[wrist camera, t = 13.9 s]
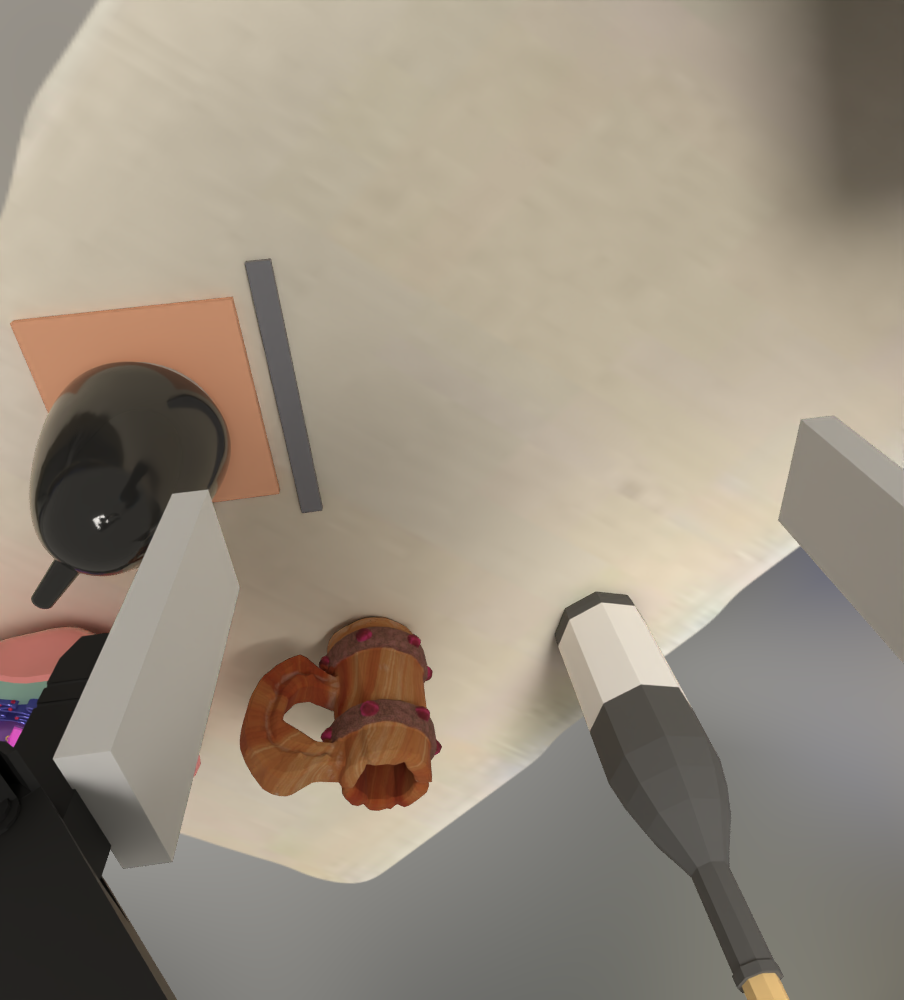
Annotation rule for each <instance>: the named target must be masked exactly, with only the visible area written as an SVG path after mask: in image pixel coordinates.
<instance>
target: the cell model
mask: <svg viewBox="0 0 904 1000" xmlns="http://www.w3.org/2000/svg"><path fill="white" fill-rule="evenodd" d="M87 635H95V633H93V632H90V631H88V630H86V629H83V628H78V627H59V628H52V629H48V630H43V631H39V632H34V633H30V634H25V635H21V636H17V637H12V638H8V639H5V640H2V641H0V741H6V742H7V743H9V744H10V745H11V746H12V747H14V745H15V744H16V742H17V740H18V738H19V736H20V734H21V732H22V730H23V728H24V726H25V724H26V722H27V720H28V718H29V716H30V714H31V713H32V711H33V709H34V708H36V707H37V701H38V699H39V697H40V695H41V693H42V691H43V689H44V688H47V681H48V680H49V678H50V676H51V674H52V672H53V670H54V668H55V666H56V664H57V662H58V660H59V658H60V657H61V656H62V655H63V654H64V653H65V652H66V651H67V650H68V649H69V648H70V647H71V646H72V645H73V644H74V643H75V642H76V641H77V640H78V639H79V638H80V637H81V636H87ZM200 764H201V762H200V755H199V756H198V760H197V764H196V768H195V773H194V776H195V775H196V773H197V771H198V769H199V766H200Z"/></svg>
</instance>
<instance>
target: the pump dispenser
mask: <svg viewBox="0 0 904 1000" xmlns="http://www.w3.org/2000/svg"><path fill="white" fill-rule="evenodd" d="M230 456H231V441H230V435H229V431H228V428H227V425H226V422H225V420H224V418H223V416H222V414H221V412H220V411H219V409H218V408H217V406H216V405H215V403H214V402H213V401H212V399H211V398H210V397H209V395H208V394H207V393H206V392H205V391H204V390H203V389H202V388H201V387H200V386H199V385H198V384H197V383H196V382H194V381H193V380H192V379H190V378H189V377H187V376H185V375H184V374H182V373H180V372H178V371H176V370H174V369H171V368H168V367H165V366H162V365H158V364H154V363H147V362H115V363H109V364H104V365H101V366H97V367H95V368H92V369H90V370H88V371H86V372H84V373H82V374H81V375H79V376H78V377H76V378H75V379H74V380H73V381H72V382H70V383H69V384H68V385H67V386H66V388H65V389H64V390H63V391H62V392H61V394H60V395H59V396H58V398H57V399H56V401H55V402H54V404H53V406H52V408H51V410H50V412H49V414H48V416H47V418H46V420H45V423H44V425H43V428H42V430H41V433H40V436H39V439H38V442H37V446H36V450H35V454H34V459H33V464H32V471H31V479H30V491H29V500H30V511H31V517H32V522H33V526H34V529H35V532H36V534H37V536H38V538H39V540H40V542H41V544H42V545H43V547H44V548H45V549H46V550H47V552H48V553H49V554H50V555H51V556H52V557H53V558H54V561H53V562H52V564H51V566H50V567H49V569H48V571H47V572H46V574H45V575H44V577H43V579H42V580H41V582H40V584H39V585H38V587H37V589H36V590H35V592H34V594H33V595H32V597H31V600H32V603H33V604H34V605H35V606H37V607H39V608H41V609H49V608H51V607H52V606H53V605H54V604H55V603H56V601H57V600H58V599H59V598H60V597H61V596H62V594H63V593H64V592H65V591H66V590H67V588H68V587H69V586H70V585H71V584H72V582H73V581H74V580H75V579H76V578H77V576H78V575H79V574H80V573H82V574H86V575H92V576H111V575H117V574H121V573H124V572H127V571H130V570H133V569H135V568H138V567H139V566H140V564H141V562H142V560H143V558H144V555H145V553H146V551H147V549H148V547H149V544H150V542H151V540H152V538H153V535H154V533H155V531H156V529H157V527H158V524H159V522H160V520H161V518H162V516H163V513H164V511H165V509H166V507H167V504H168V502H169V500H170V498H171V496H172V494H175V493H183V492H192V491H200V490H208V491H209V494H210V497H211V500H212V499H213V498H214V496H215V495H216V493H217V491H218V490H219V488H220V486H221V484H222V482H223V480H224V478H225V475H226V473H227V470H228V466H229V462H230Z"/></svg>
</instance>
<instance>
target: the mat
mask: <svg viewBox="0 0 904 1000" xmlns="http://www.w3.org/2000/svg"><path fill="white" fill-rule="evenodd" d="M10 325H11V327H12V329H13V332H14V334H15V336H16V339H17V341H18V343H19V346H20V348H21V350H22V353H23V355H24V357H25V360H26V362H27V364H28V367H29V369H30V371H31V374H32V376H33V378H34V381H35V383H36V385H37V388H38V390H39V392H40V395H41V397H42V399H43V402H44V404H45V406H46V409H47V411H48V413H49V412H50V410H51V408H52V406H53V404H54V402H55V401H56V399H57V398H58V396H59V395H60V394H61V392H62V391H63V390H64V389H65V388H66V386H67V385H68V384H69V383H70V382H72V381H73V380H74V379H75V378H76V377H78V376H79V375H81V374H82V373H84V372H86V371H88V370H90V369H92V368H95V367H97V366H101V365H104V364H109V363H115V362H147V363H154V364H158V365H162V366H165V367H168V368H171V369H174V370H176V371H178V372H180V373H182V374H184V375H185V376H187V377H189V378H190V379H192V380H193V381H194V382H196V383H197V384H198V385H199V386H200V387H201V388H202V389H203V390H204V391H205V392H206V393H207V394H208V395H209V397H210V398H211V399H212V401H213V402H214V403H215V405H216V406H217V408H218V409H219V411H220V412H221V414H222V416H223V418H224V420H225V422H226V425H227V428H228V431H229V435H230V441H231V456H230V462H229V466H228V470H227V473H226V475H225V478H224V480H223V482H222V484H221V486H220V488H219V490H218V491H217V493H216V495H215V496H214V498H213V499H212V502H220V501H228V500H235V499H243V498H251V497H259V496H266V495H274V494H279V491H280V488H279V484H278V480H277V476H276V472H275V468H274V464H273V460H272V456H271V452H270V447H269V443H268V439H267V435H266V431H265V427H264V423H263V419H262V415H261V411H260V406H259V402H258V398H257V394H256V390H255V386H254V382H253V378H252V374H251V370H250V365H249V361H248V357H247V353H246V349H245V345H244V341H243V337H242V333H241V329H240V325H239V320H238V316H237V312H236V308H235V304H234V300H233V297H226V298H217V299H207V300H198V301H189V302H179V303H170V304H161V305H152V306H142V307H133V308H124V309H115V310H105V311H96V312H87V313H77V314H68V315H59V316H50V317H40V318H31V319H22V320H14V321H13V322H11V323H10Z"/></svg>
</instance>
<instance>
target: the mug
mask: <svg viewBox="0 0 904 1000" xmlns="http://www.w3.org/2000/svg"><path fill="white" fill-rule="evenodd" d="M420 643H421V640H420V639H419V638H418V637H417V636H416V635H414V634H412V633H411V631H409V630H408V628H407V627H406V626H404V625H402V624H399V623H397V622H395V621H392V620H390V619H387V618H377V617H371V618H364V619H361V620H358V621H355V622H353V623H352V624H350V625H348V626H346V627H343V628H342V629H340V630H339V631H337V632H336V633H334V635H333V636H332V638H331V639H330V641H329V643H328V648H327V653H328V654H327V655H326V656H324V657H322V659H321V660H320V662H319V667H317V666H316V665H315V664H313V663H312V662H311V661H310V660H309V659H308V658H306V657H304V656H302V655H297V656H294V657H292V658H289V659H287V660H285V661H284V662H282V663H280V664H278V665H276V666H275V667H274V668H273V669H272V670H271V671H269V672H268V673H267V674H265V675H264V676H263V677H262V679H261V680H260V681H259V683H258V685H257V686H256V688H255V690H254V692H253V693H252V696H251V698H250V700H249V703H248V707H247V711H246V714H245V718H244V721H243V725H242V729H241V735H240V750H241V752H242V755H243V758H244V760H245V763H246V765H247V767H248V768H249V770H250V772H251V774H252V775H253V777H254V778H255V779H256V781H257V782H258V783H259V785H260V786H261V787H262V789H264V790H266V791H267V792H269V793H271V794H274V795H278V796H288V795H292V794H294V793H295V792H297V791H299V790H300V789H302V788H304V787H305V786H307V785H309V784H311V783H313V782H339V783H340V785H341V786H342V794H343V796H344V797H345V799H347V800H348V801H349V802H350V803H351V804H352V805H356V806H359V805H362V804H364V805H365V806H366V807H367V808H368V809H369V810H374V811H379V810H383V809H386V808H388V809H391V808H393V807H394V806H395V805H397V804H398V805H401V806H403V807H406V806H409V805H411V804H412V803H413V802H415V801H416V800H418V799H419V798H420V797H422V796H423V795H424V794H425V793H426V792H427V790H428V787H429V782H432V771H431V760H432V758H433V757H434V755H436V754H438V753H439V752H440V750H441V748H442V746H441V744H440V743H439V742H438V741H437V740H436V736H435V730H434V725H433V722H432V720H431V718H430V712H429V710H428V709H427V707H426V700H425V692H424V682H425V681H427V680H429V679H431V677H432V670H431V668H430V667H428V666H427V663H426V659H425V654H424V650H423V649H422V647H421V645H420ZM324 671H325V672H324ZM303 702H311V703H313V704H316V705H319V706H321V707H324V708H326V709H329V710H331V711H334V718H335V721H334V722H333V724H332V725H331V726H330V727H329V728H327V729H326V730H325V731H324V732H323V733H322V735H321V739H322V741H323V742H317V741H315V740H313V739H311V738H310V737H308V736H307V735H305V734H304V733H302V732H301V731H299V730H298V729H296V728H294V727H293V726H291V725H289V724H288V723H286V722H284V720H283V716H284V714H285V713H286V712H287V711H288V710H289V709H290V708H291V707H292V706H293V705H295V704H297V703H303Z"/></svg>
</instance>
